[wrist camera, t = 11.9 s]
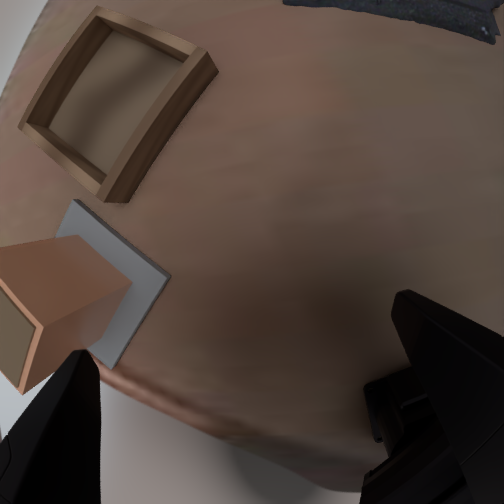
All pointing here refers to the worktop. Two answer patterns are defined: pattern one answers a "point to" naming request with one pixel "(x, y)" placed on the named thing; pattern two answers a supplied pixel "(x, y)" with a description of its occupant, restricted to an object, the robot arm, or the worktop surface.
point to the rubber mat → (128, 263)
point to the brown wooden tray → (115, 101)
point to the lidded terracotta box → (53, 305)
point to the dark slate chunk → (427, 13)
